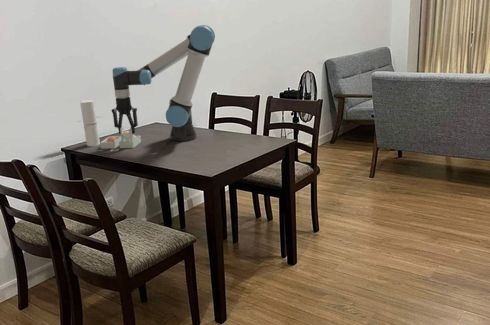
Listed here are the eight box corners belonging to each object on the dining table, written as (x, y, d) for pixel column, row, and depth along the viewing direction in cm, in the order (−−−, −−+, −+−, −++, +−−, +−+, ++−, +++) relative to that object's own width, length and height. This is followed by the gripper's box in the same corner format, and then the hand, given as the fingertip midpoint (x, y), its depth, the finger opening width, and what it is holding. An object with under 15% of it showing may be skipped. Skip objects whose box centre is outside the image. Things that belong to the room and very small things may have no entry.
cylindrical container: (96, 147, 270) (89, 102, 263) (84, 147, 272) (77, 102, 265) (102, 143, 277) (96, 100, 270) (90, 143, 278) (84, 100, 271)
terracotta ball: (118, 143, 272) (117, 135, 271) (115, 146, 268) (113, 137, 266) (109, 144, 273) (108, 135, 271) (106, 146, 268) (105, 137, 267)
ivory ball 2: (138, 141, 274) (137, 133, 273) (135, 144, 270) (134, 135, 268) (129, 142, 275) (128, 133, 273) (126, 144, 270) (125, 135, 269)
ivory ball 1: (133, 138, 268) (132, 129, 266) (130, 140, 263) (129, 131, 261) (124, 138, 268) (123, 129, 267) (121, 140, 263) (120, 131, 262)
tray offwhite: (123, 143, 276) (122, 136, 275) (114, 149, 264) (113, 142, 263) (110, 143, 277) (109, 136, 276) (101, 149, 265) (100, 142, 263)
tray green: (141, 142, 275) (140, 135, 274) (133, 148, 263) (132, 141, 261) (128, 142, 276) (127, 136, 275) (119, 149, 263) (118, 142, 262)
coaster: (119, 150, 262) (119, 148, 261) (117, 152, 258) (116, 150, 258) (112, 150, 262) (112, 148, 262) (110, 152, 258) (110, 150, 258)
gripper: (141, 95, 261) (145, 137, 268) (109, 96, 263) (114, 138, 270) (136, 97, 254) (141, 141, 261) (103, 98, 256) (109, 141, 263)
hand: (127, 139), depth 265 cm, fingers closed on ivory ball 1, 5 cm apart
